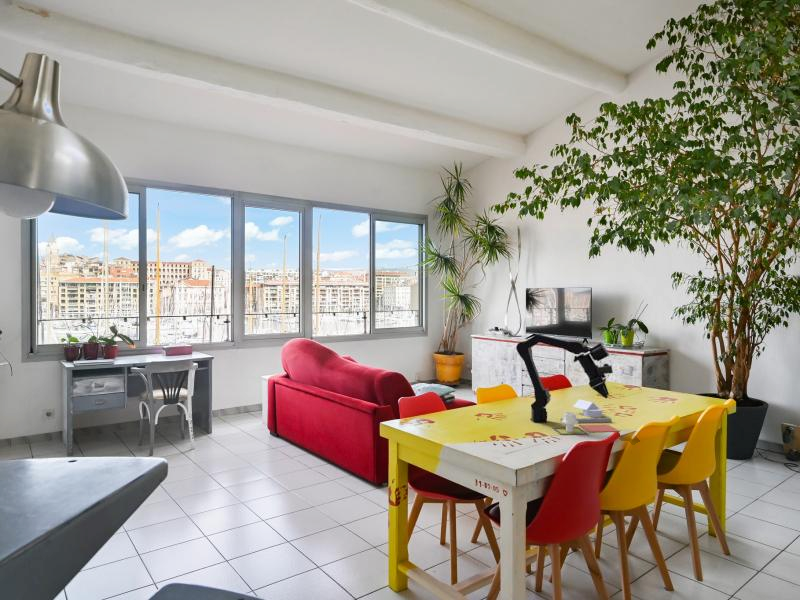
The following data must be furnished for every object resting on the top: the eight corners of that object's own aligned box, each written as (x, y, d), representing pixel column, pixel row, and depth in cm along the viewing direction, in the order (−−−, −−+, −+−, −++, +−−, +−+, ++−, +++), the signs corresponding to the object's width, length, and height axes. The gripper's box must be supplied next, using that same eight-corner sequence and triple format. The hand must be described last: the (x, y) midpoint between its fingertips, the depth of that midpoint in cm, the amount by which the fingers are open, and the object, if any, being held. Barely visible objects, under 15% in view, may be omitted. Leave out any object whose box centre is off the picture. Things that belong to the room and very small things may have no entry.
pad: (589, 432, 233) (589, 431, 233) (578, 425, 245) (578, 424, 245) (620, 431, 233) (620, 431, 233) (607, 425, 245) (607, 424, 245)
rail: (562, 422, 249) (562, 419, 249) (560, 421, 251) (560, 418, 251) (611, 422, 250) (611, 419, 250) (609, 421, 253) (609, 417, 253)
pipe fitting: (571, 428, 238) (571, 411, 238) (580, 432, 231) (580, 414, 231) (559, 429, 237) (559, 412, 237) (567, 433, 230) (568, 415, 230)
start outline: (560, 434, 228) (560, 433, 228) (552, 428, 239) (552, 427, 239) (588, 434, 229) (588, 433, 229) (578, 427, 240) (578, 427, 240)
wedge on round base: (573, 413, 270) (594, 418, 258) (573, 400, 269) (594, 404, 258) (585, 411, 274) (606, 416, 263) (585, 398, 274) (606, 402, 263)
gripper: (603, 359, 231) (623, 391, 227) (606, 356, 248) (624, 385, 244) (580, 371, 234) (600, 402, 231) (584, 367, 251) (602, 396, 248)
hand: (607, 396), depth 238 cm, fingers open, 9 cm apart
